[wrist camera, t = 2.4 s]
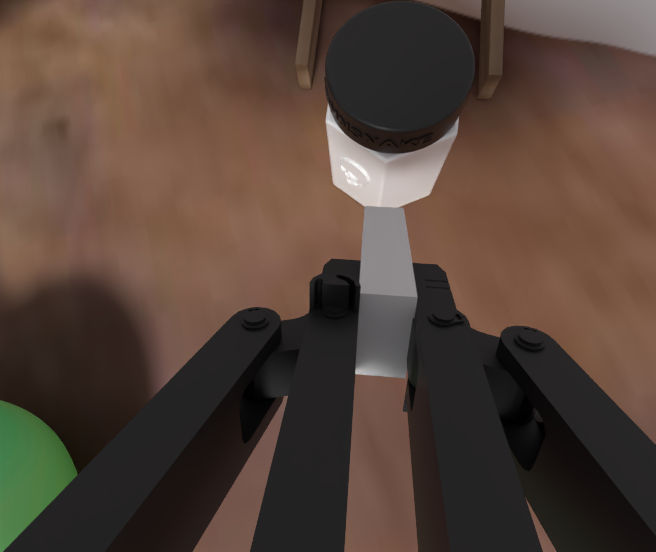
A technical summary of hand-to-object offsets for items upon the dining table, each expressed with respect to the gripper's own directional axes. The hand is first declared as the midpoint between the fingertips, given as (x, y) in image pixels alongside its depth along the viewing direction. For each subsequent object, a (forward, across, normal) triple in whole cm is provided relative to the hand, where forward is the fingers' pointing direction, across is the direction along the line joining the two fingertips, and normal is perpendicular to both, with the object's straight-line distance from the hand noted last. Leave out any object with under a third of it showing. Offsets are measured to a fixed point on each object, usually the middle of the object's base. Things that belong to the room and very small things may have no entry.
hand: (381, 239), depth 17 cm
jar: (+19, +1, -2) cm, 19 cm away
